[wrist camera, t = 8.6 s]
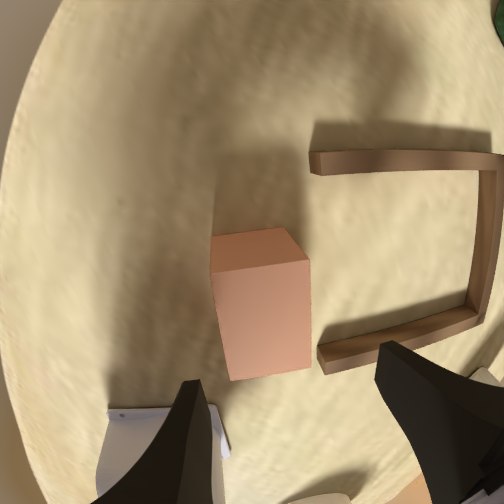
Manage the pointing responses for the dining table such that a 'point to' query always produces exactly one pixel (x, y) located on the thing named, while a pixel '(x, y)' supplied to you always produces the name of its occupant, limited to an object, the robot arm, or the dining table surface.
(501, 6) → the coffee jar
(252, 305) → the block
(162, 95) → the dining table surface
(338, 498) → the honey pot
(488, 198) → the frame
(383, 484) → the dining table surface
